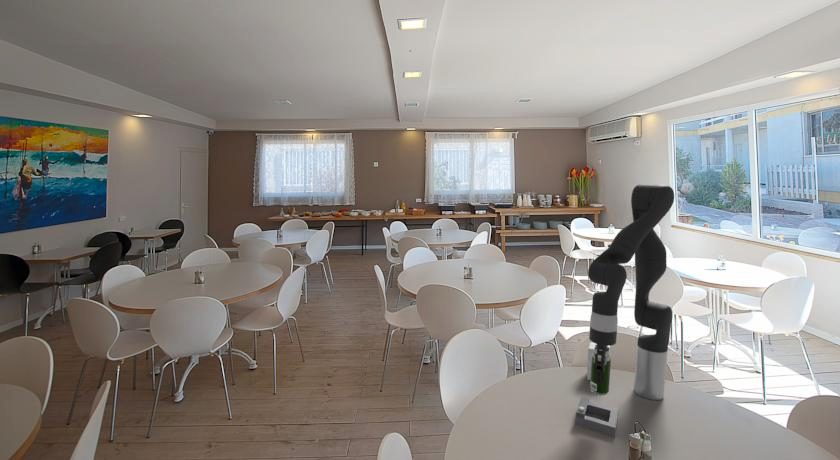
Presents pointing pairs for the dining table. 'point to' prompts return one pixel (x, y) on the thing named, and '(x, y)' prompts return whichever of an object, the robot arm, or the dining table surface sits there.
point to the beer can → (603, 388)
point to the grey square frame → (594, 423)
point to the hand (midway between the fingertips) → (599, 378)
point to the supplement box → (590, 353)
